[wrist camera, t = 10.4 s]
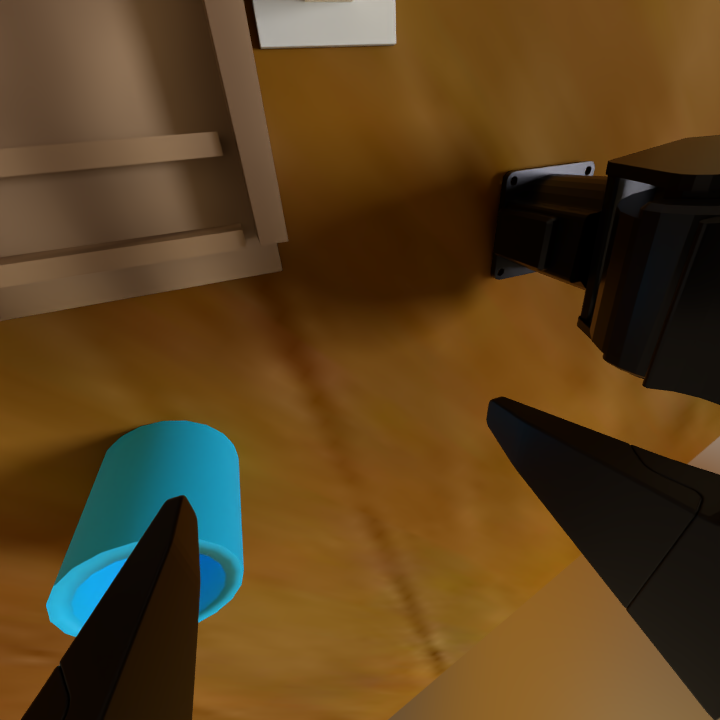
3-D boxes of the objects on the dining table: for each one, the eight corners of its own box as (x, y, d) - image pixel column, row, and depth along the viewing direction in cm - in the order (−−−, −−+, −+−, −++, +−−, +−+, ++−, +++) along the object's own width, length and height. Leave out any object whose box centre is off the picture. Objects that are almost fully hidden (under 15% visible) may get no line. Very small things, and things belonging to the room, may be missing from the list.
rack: (155, -392, 9) (126, -622, 7) (285, 265, 19) (296, 284, 16) (-665, -594, 6) (-1385, -1201, 3) (-8, 317, 16) (-57, 351, 13)
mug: (83, 430, 20) (13, 568, 13) (233, 411, 23) (236, 519, 16) (132, 553, 26) (100, 692, 19) (246, 527, 28) (252, 641, 22)
